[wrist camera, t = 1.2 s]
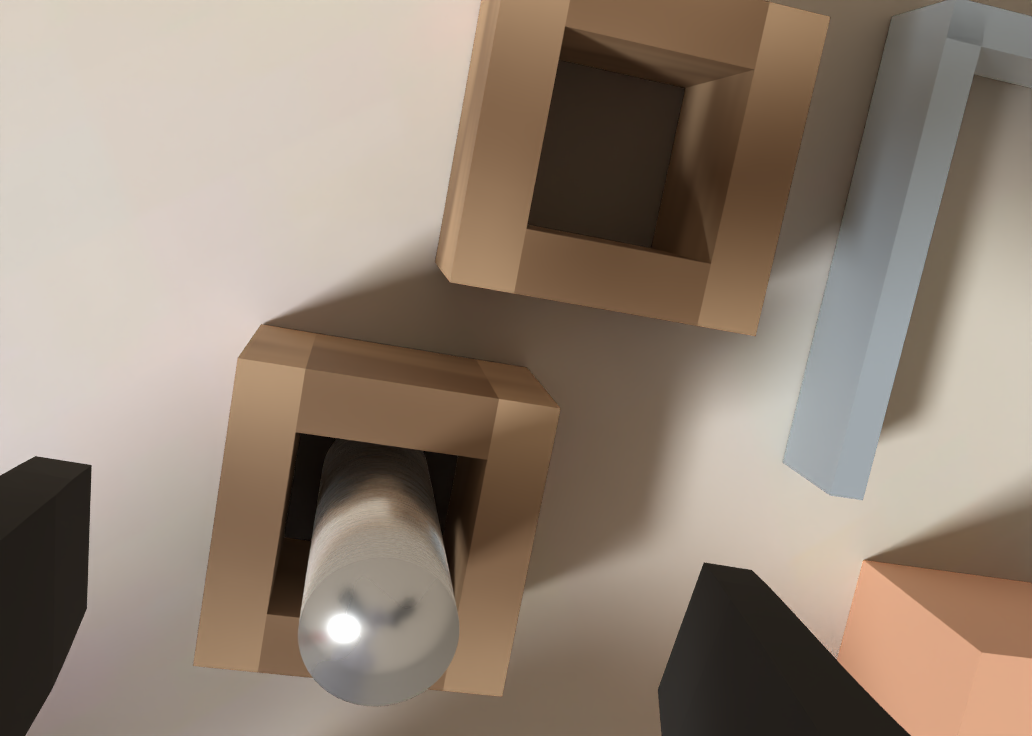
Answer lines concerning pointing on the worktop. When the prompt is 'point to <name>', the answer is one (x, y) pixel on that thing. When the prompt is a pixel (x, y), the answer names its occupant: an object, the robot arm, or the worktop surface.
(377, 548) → the cylinder
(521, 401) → the block
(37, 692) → the robot arm
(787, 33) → the block
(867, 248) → the tray
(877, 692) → the block
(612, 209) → the worktop surface
